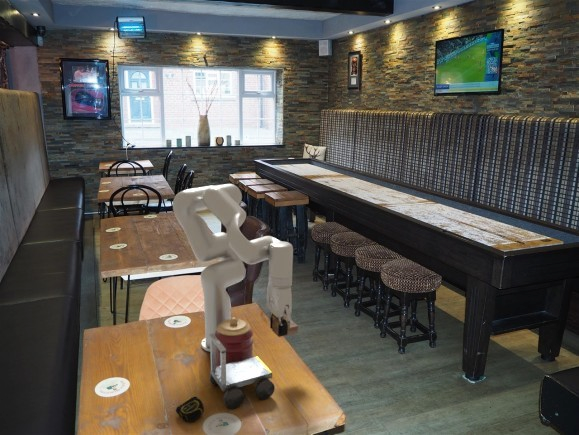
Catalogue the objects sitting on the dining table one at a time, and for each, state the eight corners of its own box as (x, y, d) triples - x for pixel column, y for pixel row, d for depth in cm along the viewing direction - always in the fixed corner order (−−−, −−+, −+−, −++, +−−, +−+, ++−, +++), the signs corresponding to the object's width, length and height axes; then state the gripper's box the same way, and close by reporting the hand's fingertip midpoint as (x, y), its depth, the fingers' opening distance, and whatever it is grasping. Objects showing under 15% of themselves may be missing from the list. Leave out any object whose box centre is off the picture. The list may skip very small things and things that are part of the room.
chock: (272, 330, 160) (272, 315, 159) (290, 326, 164) (291, 311, 162) (278, 337, 156) (279, 321, 155) (297, 332, 159) (298, 317, 158)
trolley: (208, 386, 152) (207, 331, 148) (255, 373, 160) (255, 320, 155) (224, 411, 140) (223, 352, 136) (274, 396, 148) (274, 339, 143)
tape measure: (198, 402, 142) (195, 392, 141) (209, 414, 137) (206, 405, 136) (177, 415, 139) (174, 406, 137) (187, 428, 134) (184, 418, 132)
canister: (222, 353, 173) (221, 308, 169) (257, 357, 171) (257, 311, 167) (210, 372, 160) (208, 324, 156) (247, 377, 158) (247, 328, 154)
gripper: (258, 272, 160) (257, 322, 164) (282, 291, 145) (280, 345, 150) (278, 269, 163) (277, 318, 168) (303, 287, 149) (301, 340, 153)
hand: (278, 330), depth 159 cm, fingers closed on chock, 5 cm apart
